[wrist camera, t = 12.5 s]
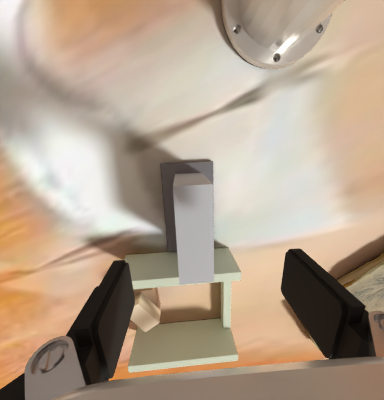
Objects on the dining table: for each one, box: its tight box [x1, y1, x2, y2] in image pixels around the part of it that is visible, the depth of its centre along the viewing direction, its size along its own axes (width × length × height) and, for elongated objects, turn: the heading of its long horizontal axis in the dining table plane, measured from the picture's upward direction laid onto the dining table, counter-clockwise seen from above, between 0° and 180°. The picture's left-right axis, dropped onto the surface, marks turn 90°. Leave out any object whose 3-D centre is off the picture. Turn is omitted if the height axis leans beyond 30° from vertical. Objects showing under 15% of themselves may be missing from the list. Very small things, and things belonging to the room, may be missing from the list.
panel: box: [160, 161, 213, 252], centre depth 25 cm, size 13×7×1 cm, turn 3°
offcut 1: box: [133, 287, 160, 309], centre depth 28 cm, size 6×3×3 cm, turn 7°
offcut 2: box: [130, 292, 161, 332], centre depth 25 cm, size 4×3×2 cm, turn 37°
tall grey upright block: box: [173, 173, 214, 285], centre depth 21 cm, size 10×4×9 cm, turn 2°
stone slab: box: [305, 253, 384, 350], centre depth 31 cm, size 12×4×30 cm
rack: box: [124, 247, 241, 373], centre depth 27 cm, size 15×16×6 cm
